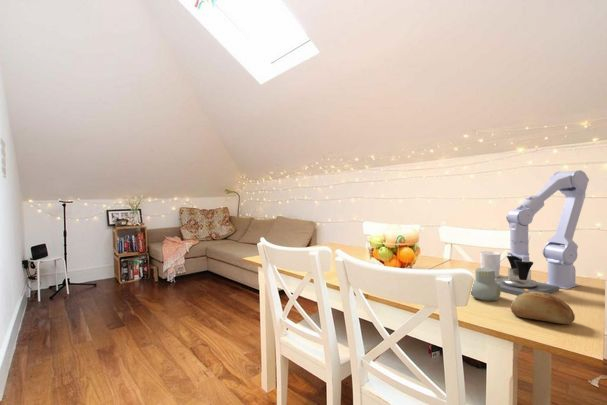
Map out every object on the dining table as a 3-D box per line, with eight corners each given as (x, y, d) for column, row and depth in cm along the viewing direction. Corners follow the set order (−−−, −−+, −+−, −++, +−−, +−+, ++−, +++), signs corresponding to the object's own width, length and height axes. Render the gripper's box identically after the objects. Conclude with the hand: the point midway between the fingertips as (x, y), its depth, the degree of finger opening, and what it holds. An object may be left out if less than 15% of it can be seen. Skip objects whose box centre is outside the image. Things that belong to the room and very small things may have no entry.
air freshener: (495, 305, 108) (495, 274, 108) (467, 300, 114) (467, 271, 113) (501, 296, 117) (501, 268, 116) (476, 292, 122) (475, 265, 122)
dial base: (509, 279, 137) (509, 275, 137) (559, 290, 122) (559, 285, 122) (482, 286, 129) (481, 282, 129) (532, 299, 113) (532, 294, 113)
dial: (530, 280, 129) (530, 266, 129) (542, 289, 118) (542, 273, 118) (498, 279, 132) (498, 265, 132) (507, 287, 122) (507, 272, 121)
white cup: (481, 272, 150) (481, 250, 150) (501, 274, 145) (501, 252, 145) (478, 276, 144) (478, 253, 143) (499, 278, 139) (499, 255, 139)
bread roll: (575, 332, 87) (575, 302, 87) (508, 320, 96) (508, 292, 96) (573, 320, 95) (574, 292, 94) (512, 310, 104) (512, 284, 103)
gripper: (501, 238, 133) (501, 272, 133) (513, 244, 119) (513, 281, 119) (521, 238, 131) (521, 272, 131) (536, 244, 117) (536, 282, 117)
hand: (519, 277), depth 125 cm, fingers open, 7 cm apart
